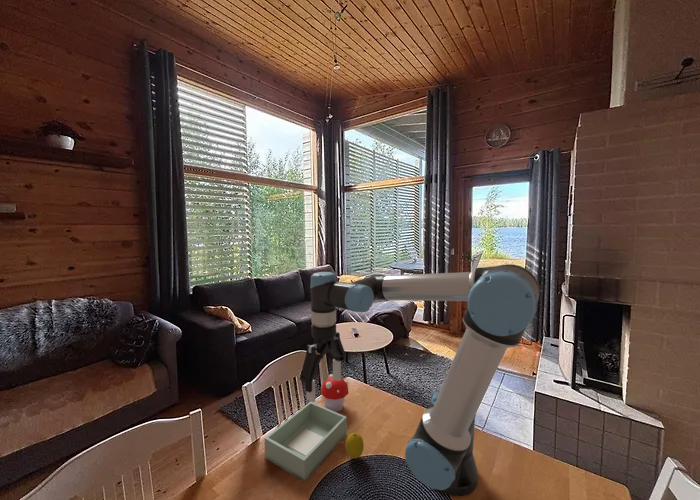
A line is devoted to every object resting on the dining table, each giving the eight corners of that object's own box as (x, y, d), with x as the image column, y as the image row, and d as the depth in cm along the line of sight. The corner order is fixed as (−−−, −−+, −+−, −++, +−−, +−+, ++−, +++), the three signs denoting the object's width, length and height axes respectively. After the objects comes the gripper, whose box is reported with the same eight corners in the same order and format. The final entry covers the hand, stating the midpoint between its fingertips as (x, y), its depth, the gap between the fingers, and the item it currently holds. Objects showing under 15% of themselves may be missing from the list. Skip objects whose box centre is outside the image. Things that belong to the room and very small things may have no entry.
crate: (346, 434, 102) (346, 416, 102) (304, 482, 84) (304, 460, 84) (310, 418, 111) (310, 401, 110) (264, 457, 92) (264, 438, 92)
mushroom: (337, 395, 125) (337, 367, 123) (354, 408, 116) (355, 378, 115) (315, 405, 118) (315, 376, 117) (332, 420, 110) (332, 388, 108)
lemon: (361, 466, 90) (362, 441, 89) (343, 463, 91) (343, 438, 90) (364, 452, 95) (365, 428, 94) (347, 449, 96) (347, 425, 95)
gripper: (336, 310, 105) (337, 369, 107) (285, 334, 84) (287, 406, 86) (355, 314, 101) (355, 374, 103) (307, 339, 80) (308, 415, 82)
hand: (324, 389), depth 95 cm, fingers open, 13 cm apart
